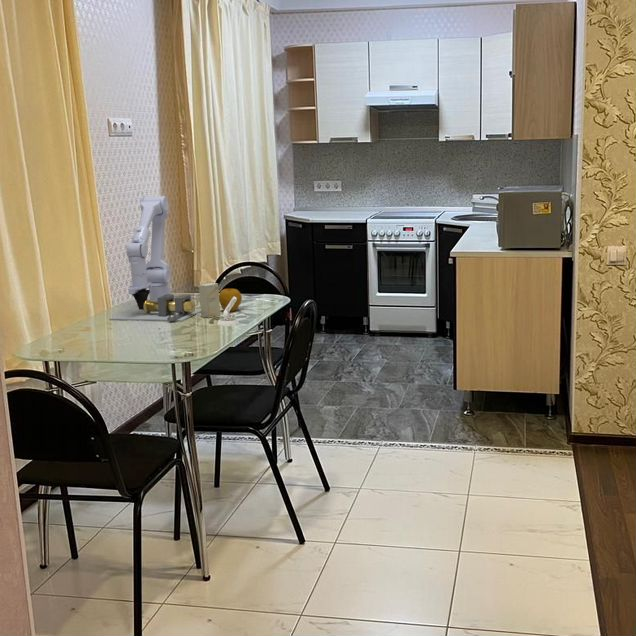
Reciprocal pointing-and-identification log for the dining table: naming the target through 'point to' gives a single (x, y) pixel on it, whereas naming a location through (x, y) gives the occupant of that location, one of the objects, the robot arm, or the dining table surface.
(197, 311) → the mat
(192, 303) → the pin
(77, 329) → the dining table surface
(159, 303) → the chain end
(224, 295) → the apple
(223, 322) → the white lever switch
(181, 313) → the chain end
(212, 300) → the skincare box
